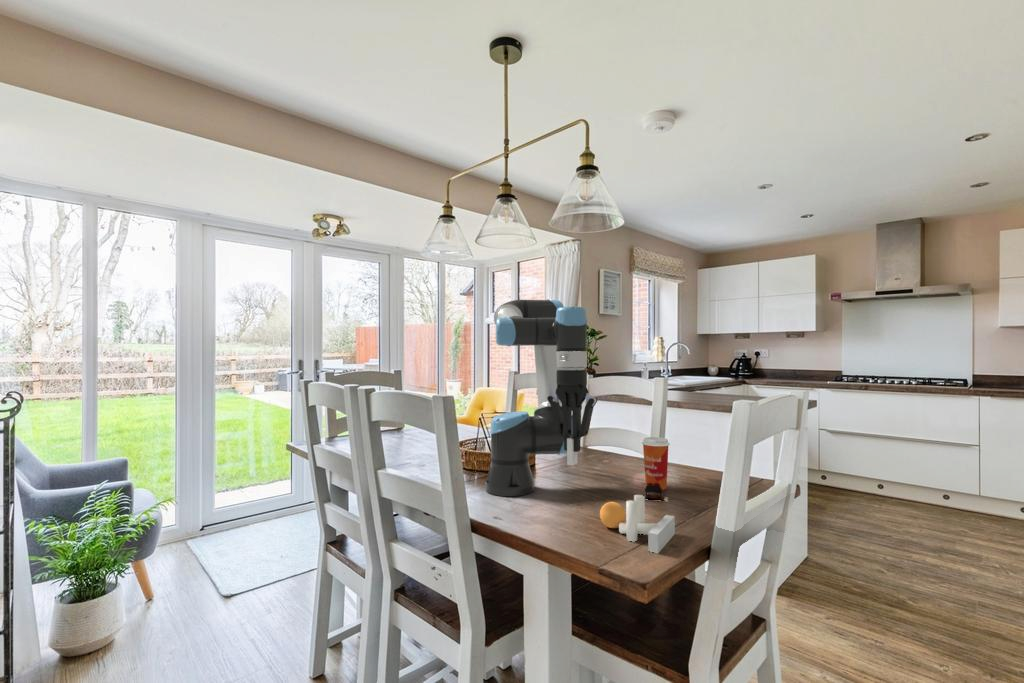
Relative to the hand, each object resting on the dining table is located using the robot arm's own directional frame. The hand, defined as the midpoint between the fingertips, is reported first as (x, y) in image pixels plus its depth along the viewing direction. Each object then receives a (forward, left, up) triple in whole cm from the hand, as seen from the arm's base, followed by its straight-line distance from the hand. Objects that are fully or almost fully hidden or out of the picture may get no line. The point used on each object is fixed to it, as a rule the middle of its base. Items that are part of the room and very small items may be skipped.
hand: (572, 464), depth 118 cm
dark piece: (+10, +30, -15) cm, 35 cm away
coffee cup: (+8, +41, -15) cm, 44 cm away
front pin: (+12, 0, -13) cm, 18 cm away
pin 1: (+16, -2, -14) cm, 22 cm away
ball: (+9, +2, -11) cm, 15 cm away
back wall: (+22, 0, -14) cm, 26 cm away
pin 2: (+16, +2, -14) cm, 22 cm away
